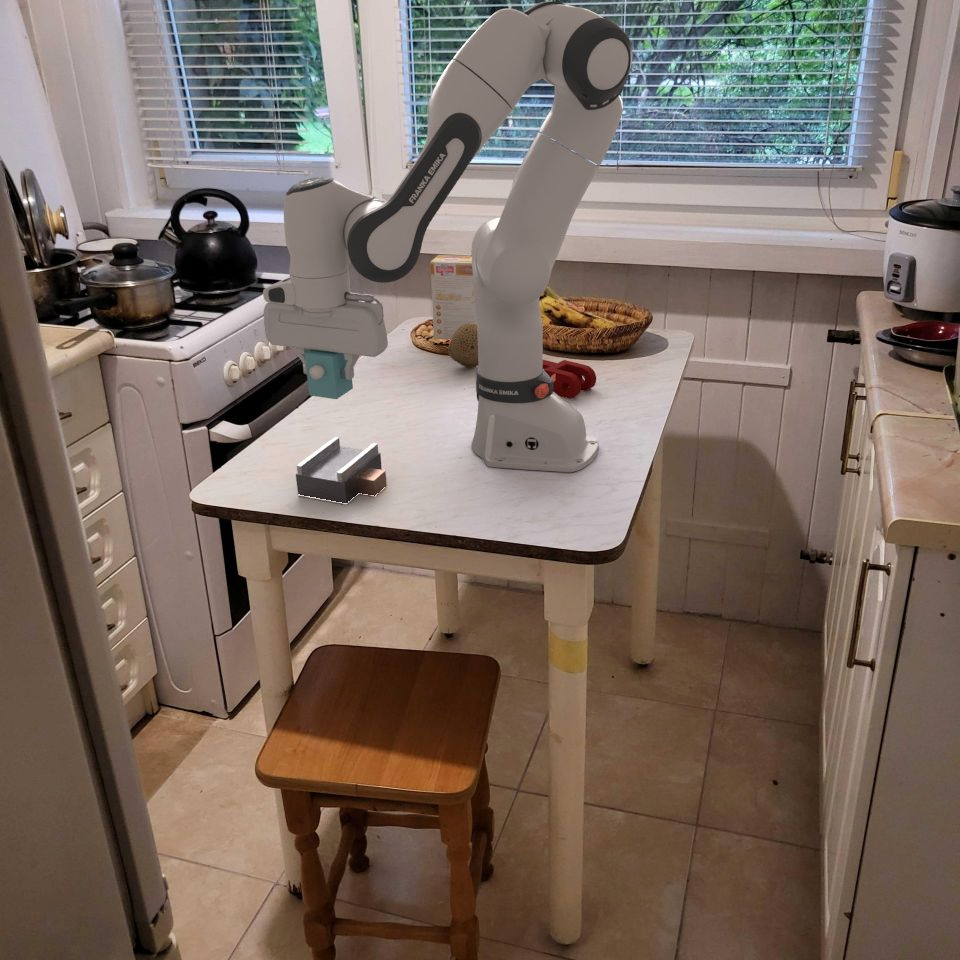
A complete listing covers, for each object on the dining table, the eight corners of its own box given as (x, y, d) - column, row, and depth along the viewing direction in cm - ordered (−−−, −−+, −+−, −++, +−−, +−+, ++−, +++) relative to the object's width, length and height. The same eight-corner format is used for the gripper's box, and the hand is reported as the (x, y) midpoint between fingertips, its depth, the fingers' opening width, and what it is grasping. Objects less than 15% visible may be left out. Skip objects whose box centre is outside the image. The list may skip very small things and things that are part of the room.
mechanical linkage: (595, 391, 198) (596, 367, 196) (575, 401, 193) (576, 377, 191) (533, 374, 207) (533, 352, 205) (512, 384, 202) (512, 361, 200)
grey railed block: (397, 476, 164) (395, 446, 161) (363, 508, 154) (360, 476, 152) (335, 466, 168) (332, 436, 166) (298, 496, 158) (294, 465, 156)
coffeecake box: (502, 338, 229) (501, 255, 220) (496, 348, 223) (494, 263, 214) (441, 335, 232) (438, 253, 224) (433, 344, 226) (429, 261, 218)
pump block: (352, 388, 156) (349, 346, 153) (331, 402, 150) (327, 359, 147) (326, 384, 158) (321, 343, 154) (304, 398, 152) (299, 356, 149)
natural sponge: (496, 373, 208) (495, 328, 203) (455, 377, 206) (453, 332, 202) (486, 360, 216) (484, 316, 211) (446, 364, 214) (444, 320, 209)
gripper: (391, 290, 146) (397, 377, 152) (276, 279, 154) (287, 362, 160) (371, 301, 141) (378, 390, 147) (253, 290, 148) (264, 375, 155)
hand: (329, 376), depth 154 cm, fingers closed on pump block, 5 cm apart
